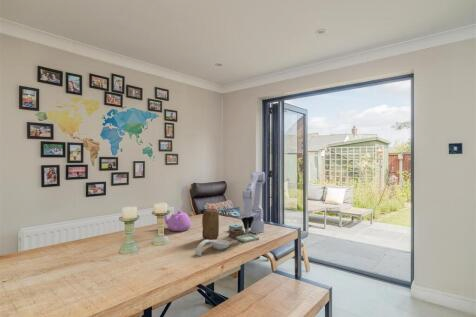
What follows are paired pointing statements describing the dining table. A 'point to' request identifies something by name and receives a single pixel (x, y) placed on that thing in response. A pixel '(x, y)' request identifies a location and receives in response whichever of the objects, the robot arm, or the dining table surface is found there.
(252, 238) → the tray
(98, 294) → the dining table surface
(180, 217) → the teapot
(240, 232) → the walnut bore block
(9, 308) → the dining table surface
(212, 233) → the block
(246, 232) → the pin gauge
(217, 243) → the spoon rest
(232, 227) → the teal block
